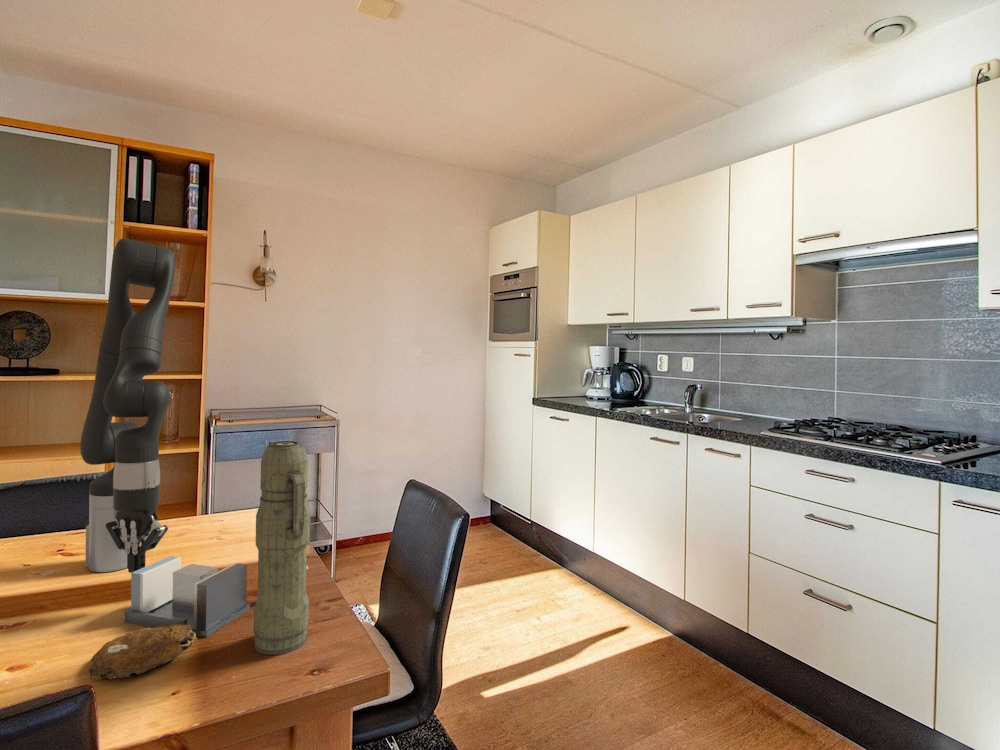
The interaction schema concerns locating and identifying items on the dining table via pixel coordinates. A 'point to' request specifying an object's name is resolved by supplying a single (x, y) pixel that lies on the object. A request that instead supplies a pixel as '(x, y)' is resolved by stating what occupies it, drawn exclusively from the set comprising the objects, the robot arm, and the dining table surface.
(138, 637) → the decorative rock
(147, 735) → the dining table surface
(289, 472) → the thermos
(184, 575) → the steel block
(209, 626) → the vise
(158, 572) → the block
